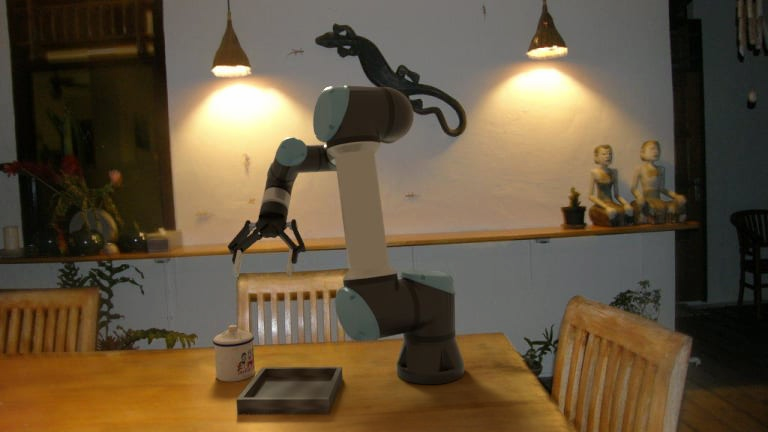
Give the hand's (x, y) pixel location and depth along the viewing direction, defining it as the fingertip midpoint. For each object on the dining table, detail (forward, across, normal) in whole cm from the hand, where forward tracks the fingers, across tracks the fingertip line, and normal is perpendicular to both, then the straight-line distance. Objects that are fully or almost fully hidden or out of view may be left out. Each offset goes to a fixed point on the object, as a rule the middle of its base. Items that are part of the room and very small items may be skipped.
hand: (261, 273), depth 153 cm
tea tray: (+34, -14, +5) cm, 37 cm away
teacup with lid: (+25, +2, -4) cm, 25 cm away
